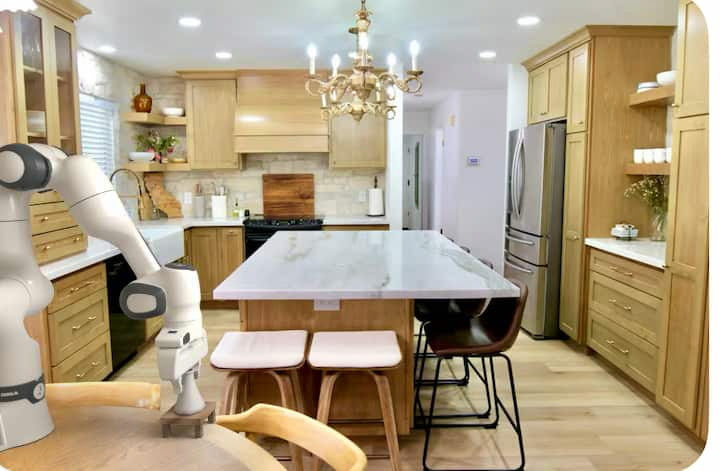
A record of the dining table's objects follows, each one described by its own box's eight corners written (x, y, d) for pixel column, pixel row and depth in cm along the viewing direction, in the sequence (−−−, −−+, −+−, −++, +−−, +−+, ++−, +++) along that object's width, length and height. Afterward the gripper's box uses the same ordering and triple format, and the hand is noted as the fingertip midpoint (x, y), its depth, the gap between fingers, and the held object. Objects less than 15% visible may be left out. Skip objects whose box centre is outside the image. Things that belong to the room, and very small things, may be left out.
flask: (167, 413, 133) (165, 373, 132) (188, 401, 139) (186, 363, 138) (191, 417, 130) (188, 376, 129) (211, 406, 136) (209, 366, 135)
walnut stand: (161, 438, 131) (159, 417, 130) (179, 419, 140) (178, 400, 140) (201, 439, 129) (200, 418, 129) (217, 420, 139) (216, 401, 139)
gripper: (189, 318, 143) (192, 370, 144) (150, 342, 123) (155, 401, 124) (212, 318, 142) (215, 370, 144) (177, 342, 122) (181, 402, 123)
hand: (187, 385), depth 134 cm, fingers open, 8 cm apart
